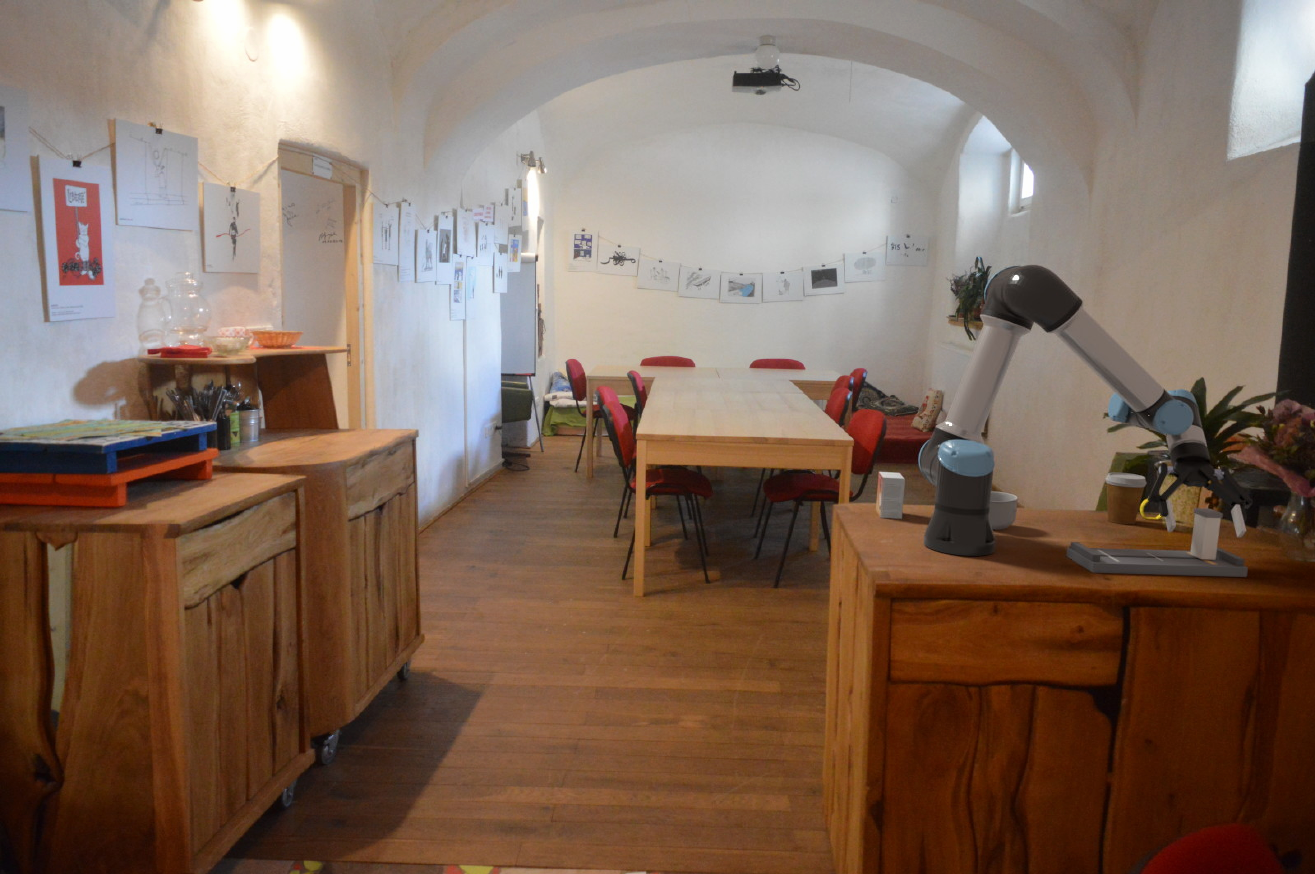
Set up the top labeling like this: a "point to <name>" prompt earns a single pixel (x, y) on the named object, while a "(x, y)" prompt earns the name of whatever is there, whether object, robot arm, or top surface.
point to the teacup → (1002, 509)
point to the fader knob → (1205, 533)
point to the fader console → (1156, 562)
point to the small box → (890, 495)
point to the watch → (1143, 511)
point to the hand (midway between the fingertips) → (1206, 531)
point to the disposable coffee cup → (1124, 496)
